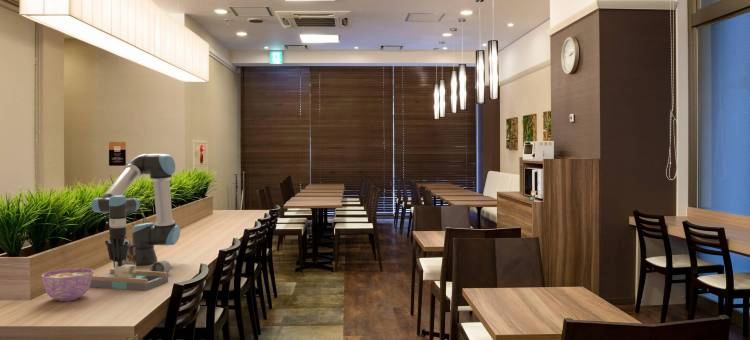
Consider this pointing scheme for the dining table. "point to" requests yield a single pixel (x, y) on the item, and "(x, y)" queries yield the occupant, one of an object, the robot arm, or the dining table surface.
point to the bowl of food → (67, 283)
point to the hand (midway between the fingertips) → (117, 274)
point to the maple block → (126, 271)
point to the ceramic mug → (161, 266)
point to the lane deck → (130, 280)
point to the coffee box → (130, 256)
